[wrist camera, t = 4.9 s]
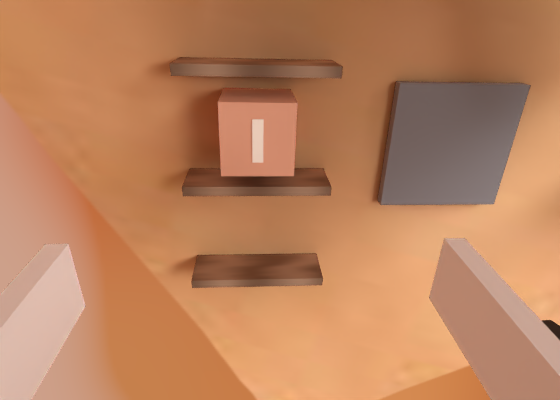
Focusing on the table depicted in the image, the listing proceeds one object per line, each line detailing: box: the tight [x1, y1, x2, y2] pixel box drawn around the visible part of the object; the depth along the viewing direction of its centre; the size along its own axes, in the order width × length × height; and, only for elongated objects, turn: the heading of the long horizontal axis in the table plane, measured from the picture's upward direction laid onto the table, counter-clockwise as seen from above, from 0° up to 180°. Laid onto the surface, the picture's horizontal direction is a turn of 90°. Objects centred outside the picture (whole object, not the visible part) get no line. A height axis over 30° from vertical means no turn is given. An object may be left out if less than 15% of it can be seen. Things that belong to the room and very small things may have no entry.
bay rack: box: [170, 57, 342, 288], centre depth 30 cm, size 12×29×4 cm, turn 179°
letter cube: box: [218, 88, 297, 176], centre depth 30 cm, size 6×6×6 cm
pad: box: [378, 81, 531, 205], centre depth 34 cm, size 11×11×1 cm
